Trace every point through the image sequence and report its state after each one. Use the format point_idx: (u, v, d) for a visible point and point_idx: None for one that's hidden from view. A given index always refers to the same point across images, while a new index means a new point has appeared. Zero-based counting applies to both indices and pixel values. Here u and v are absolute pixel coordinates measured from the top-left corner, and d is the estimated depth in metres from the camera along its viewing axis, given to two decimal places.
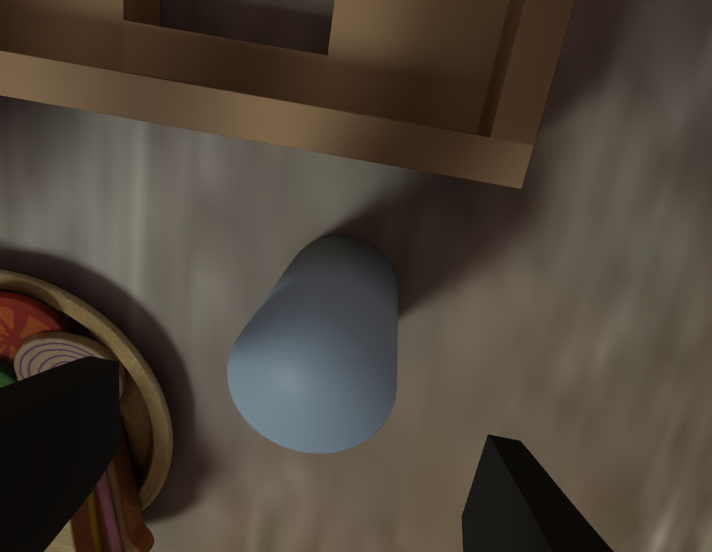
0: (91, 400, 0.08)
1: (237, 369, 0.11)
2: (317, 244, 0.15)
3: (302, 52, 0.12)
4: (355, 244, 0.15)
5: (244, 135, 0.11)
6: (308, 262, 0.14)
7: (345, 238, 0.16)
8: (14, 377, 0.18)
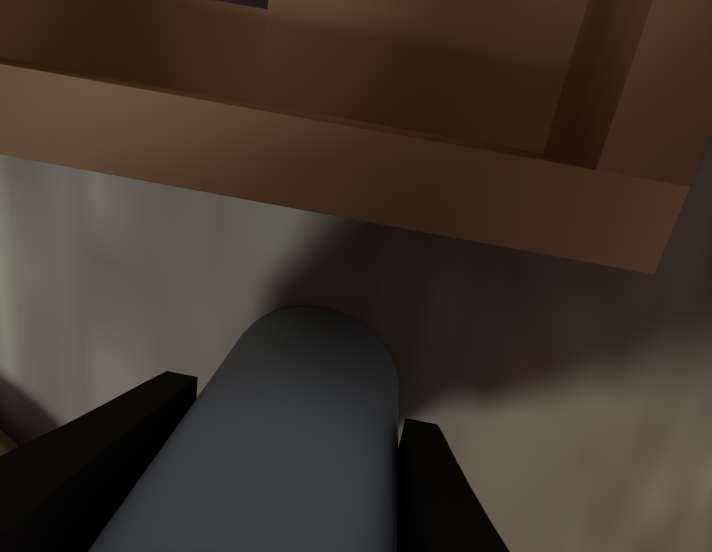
0: (176, 417, 0.08)
1: None
2: (270, 324, 0.10)
3: (220, 3, 0.07)
4: (330, 326, 0.09)
5: (86, 163, 0.06)
6: (243, 375, 0.08)
7: (316, 314, 0.10)
8: None
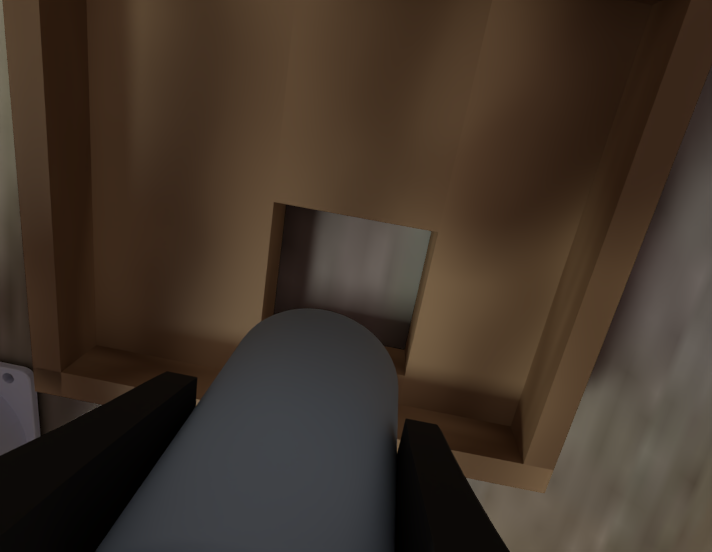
0: (176, 417, 0.08)
1: None
2: (267, 328, 0.10)
3: None
4: (325, 326, 0.10)
5: None
6: (240, 378, 0.08)
7: (311, 315, 0.10)
8: None
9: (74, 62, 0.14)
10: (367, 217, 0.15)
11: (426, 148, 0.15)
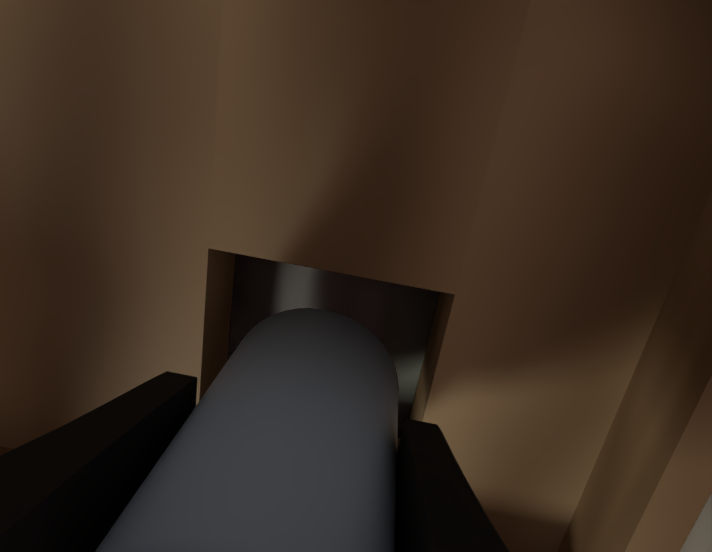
0: (176, 417, 0.08)
1: None
2: (267, 328, 0.10)
3: None
4: (325, 326, 0.10)
5: None
6: (240, 378, 0.08)
7: (311, 315, 0.10)
8: None
9: None
10: (348, 272, 0.10)
11: (437, 170, 0.09)
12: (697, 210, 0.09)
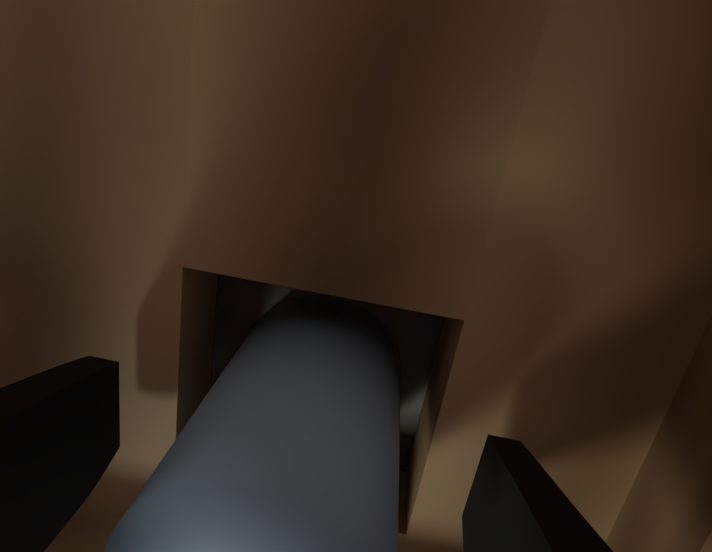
0: (91, 400, 0.08)
1: None
2: (279, 313, 0.11)
3: None
4: (333, 312, 0.10)
5: None
6: (256, 355, 0.09)
7: (320, 301, 0.11)
8: None
9: None
10: (342, 294, 0.09)
11: (445, 179, 0.08)
12: None
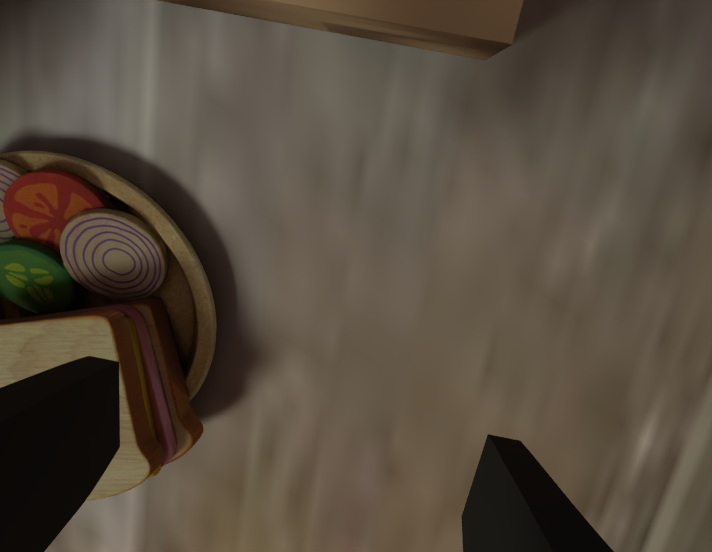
0: (91, 400, 0.08)
1: None
2: None
3: None
4: None
5: None
6: None
7: None
8: (60, 262, 0.18)
9: None
10: None
11: None
12: None
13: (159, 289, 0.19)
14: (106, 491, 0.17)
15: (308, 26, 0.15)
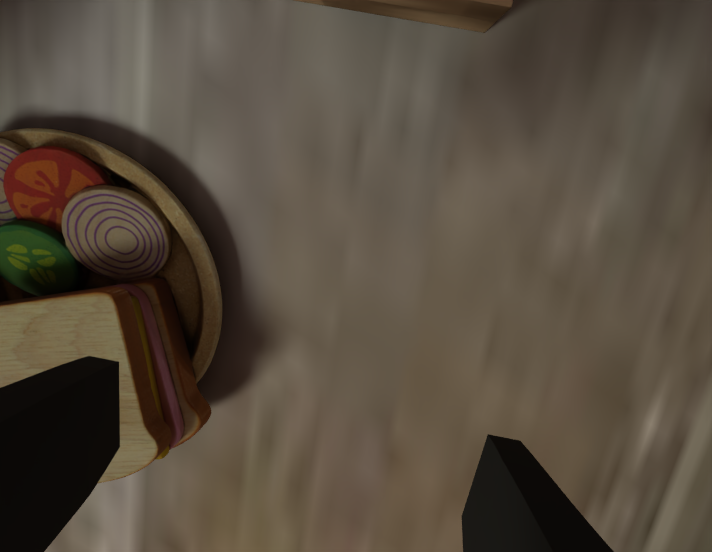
0: (91, 400, 0.08)
1: None
2: None
3: None
4: None
5: None
6: None
7: None
8: (62, 242, 0.18)
9: None
10: None
11: None
12: None
13: (163, 269, 0.19)
14: (114, 474, 0.17)
15: (303, 0, 0.15)
